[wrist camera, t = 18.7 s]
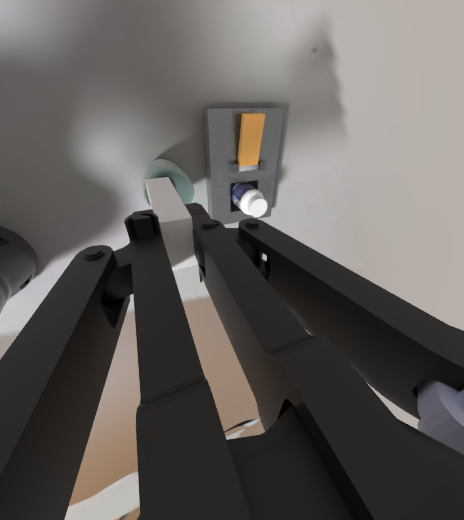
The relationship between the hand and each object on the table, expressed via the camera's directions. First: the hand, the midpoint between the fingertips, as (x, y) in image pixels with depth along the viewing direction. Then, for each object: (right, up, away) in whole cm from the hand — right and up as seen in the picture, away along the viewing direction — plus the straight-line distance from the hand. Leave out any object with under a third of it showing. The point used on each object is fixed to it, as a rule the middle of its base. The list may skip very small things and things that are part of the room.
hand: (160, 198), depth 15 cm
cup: (-9, +12, +28) cm, 32 cm away
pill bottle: (+7, +12, +36) cm, 38 cm away
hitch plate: (+7, +15, +33) cm, 37 cm away
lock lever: (+8, +18, +27) cm, 33 cm away
